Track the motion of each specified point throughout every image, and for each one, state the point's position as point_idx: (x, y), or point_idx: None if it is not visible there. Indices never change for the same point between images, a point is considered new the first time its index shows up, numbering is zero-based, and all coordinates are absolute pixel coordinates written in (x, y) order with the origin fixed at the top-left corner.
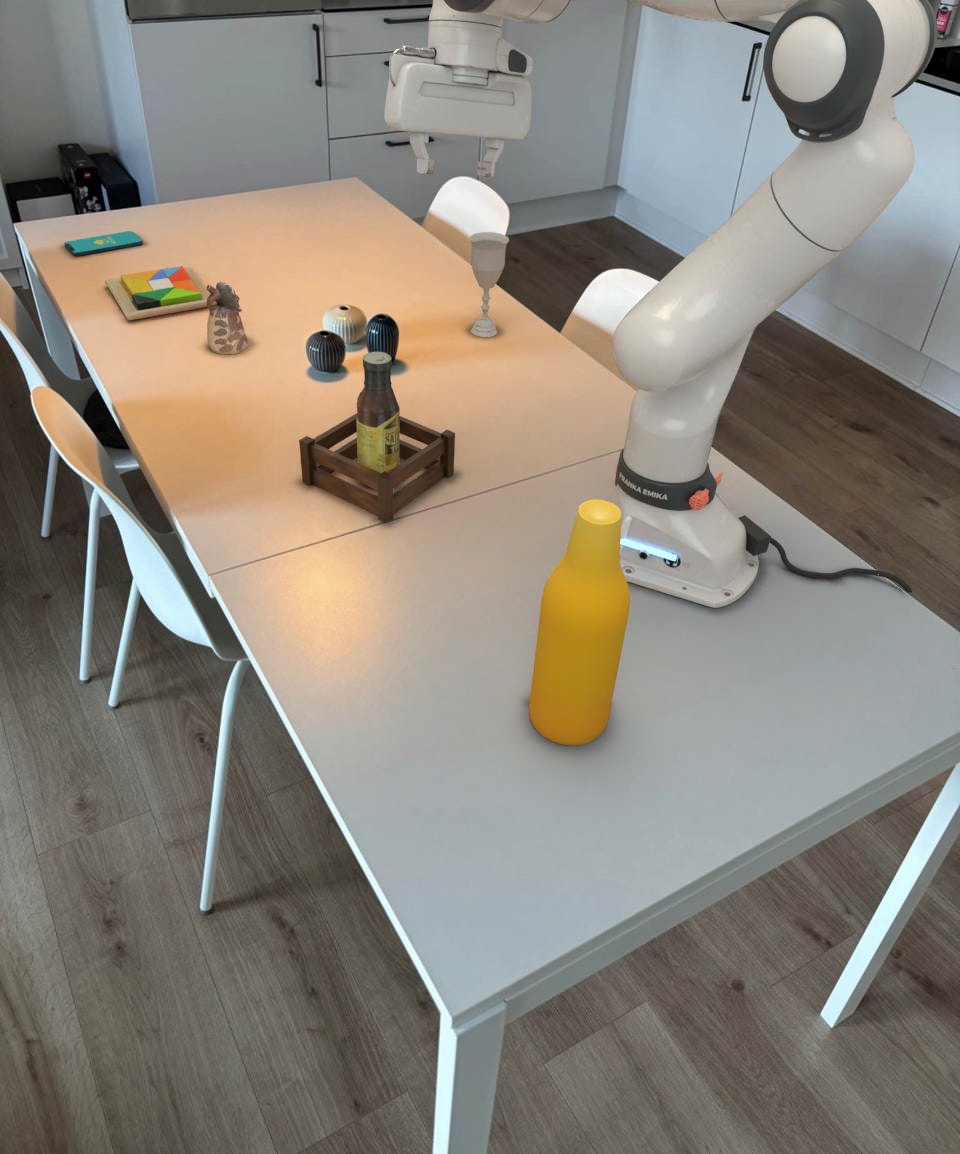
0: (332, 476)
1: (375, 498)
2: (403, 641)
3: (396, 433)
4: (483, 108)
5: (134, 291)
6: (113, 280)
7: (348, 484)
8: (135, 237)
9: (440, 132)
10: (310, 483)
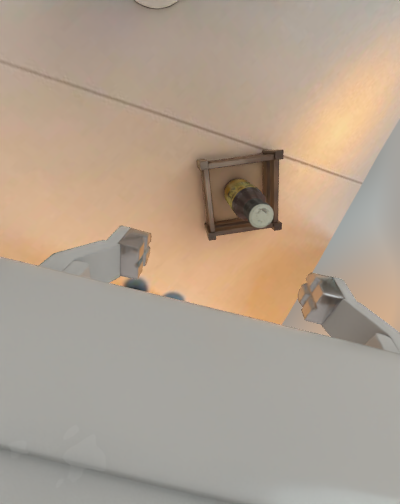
0: (268, 203)
1: (269, 164)
2: (360, 38)
3: (242, 184)
4: (115, 416)
5: None
6: None
7: (268, 189)
8: None
9: (367, 346)
10: None
